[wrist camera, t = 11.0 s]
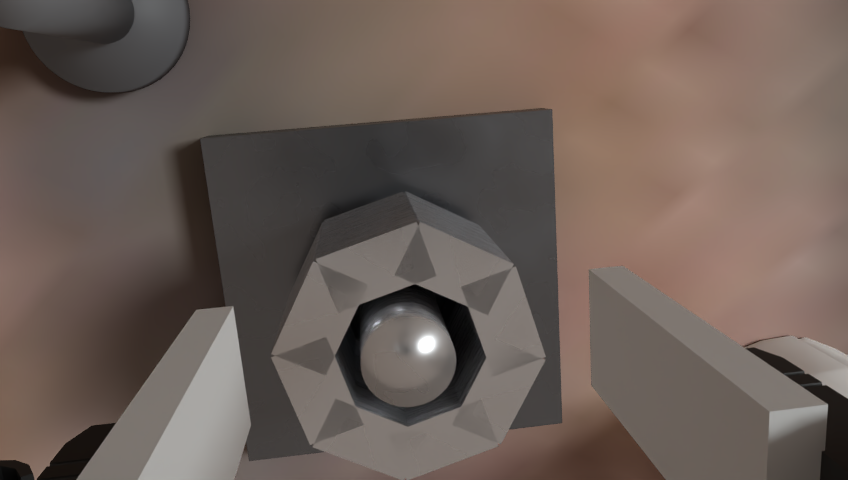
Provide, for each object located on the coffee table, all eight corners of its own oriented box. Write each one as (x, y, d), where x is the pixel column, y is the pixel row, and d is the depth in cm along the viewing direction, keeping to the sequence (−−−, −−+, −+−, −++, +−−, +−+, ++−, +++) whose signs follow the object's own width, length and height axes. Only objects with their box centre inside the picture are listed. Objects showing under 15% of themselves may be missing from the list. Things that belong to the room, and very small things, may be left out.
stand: (13, -65, 25) (-137, -132, 18) (176, -75, 26) (100, -143, 18) (46, 98, 27) (-80, 103, 19) (200, 86, 27) (139, 86, 19)
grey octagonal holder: (347, 165, 26) (345, 188, 20) (531, 248, 27) (580, 293, 21) (265, 347, 27) (240, 420, 21) (445, 418, 28) (468, 504, 22)
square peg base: (208, 135, 28) (140, 159, 19) (542, 108, 29) (623, 118, 20) (253, 443, 31) (214, 584, 22) (552, 407, 32) (627, 528, 23)
